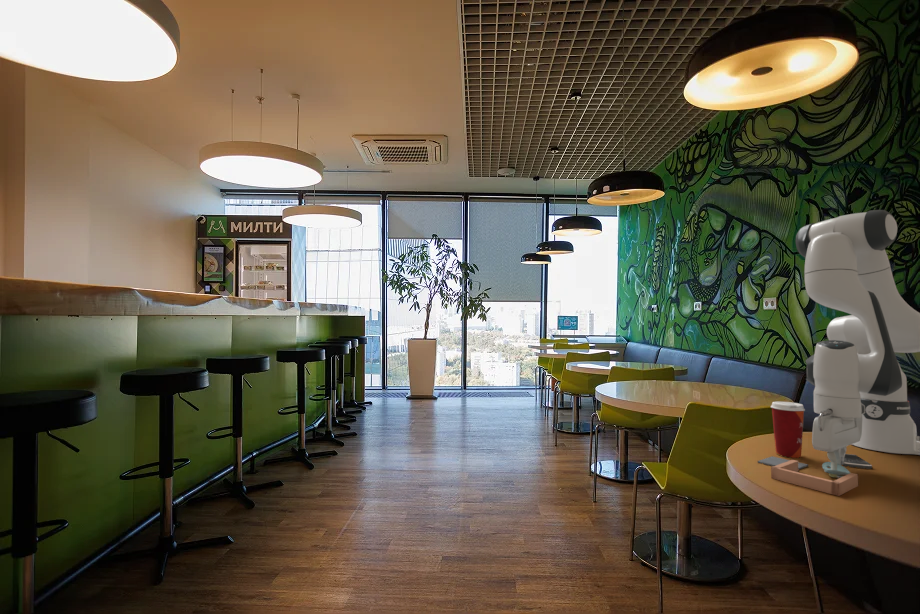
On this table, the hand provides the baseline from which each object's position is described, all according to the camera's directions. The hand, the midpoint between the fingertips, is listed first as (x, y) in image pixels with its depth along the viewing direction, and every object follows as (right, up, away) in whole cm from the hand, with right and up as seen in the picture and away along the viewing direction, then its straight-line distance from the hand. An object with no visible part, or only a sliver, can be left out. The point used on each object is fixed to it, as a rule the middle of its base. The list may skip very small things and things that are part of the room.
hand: (837, 464), depth 108 cm
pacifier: (-3, -2, -4) cm, 5 cm away
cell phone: (+10, -3, +8) cm, 13 cm away
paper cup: (-2, -2, +14) cm, 14 cm away
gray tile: (-10, -2, +5) cm, 11 cm away
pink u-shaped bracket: (-12, -1, -7) cm, 14 cm away
